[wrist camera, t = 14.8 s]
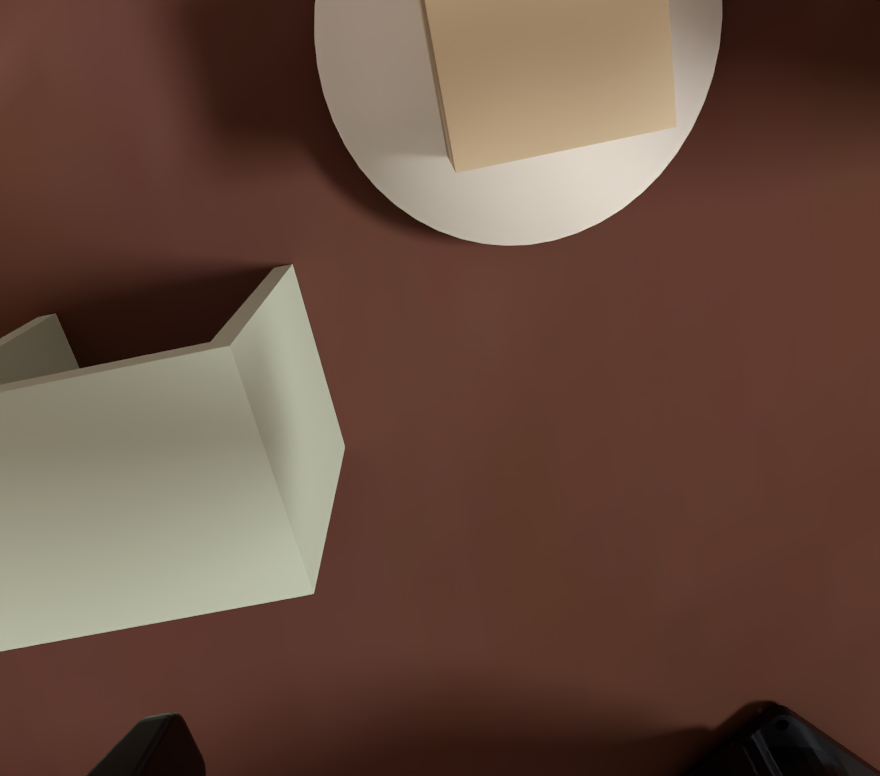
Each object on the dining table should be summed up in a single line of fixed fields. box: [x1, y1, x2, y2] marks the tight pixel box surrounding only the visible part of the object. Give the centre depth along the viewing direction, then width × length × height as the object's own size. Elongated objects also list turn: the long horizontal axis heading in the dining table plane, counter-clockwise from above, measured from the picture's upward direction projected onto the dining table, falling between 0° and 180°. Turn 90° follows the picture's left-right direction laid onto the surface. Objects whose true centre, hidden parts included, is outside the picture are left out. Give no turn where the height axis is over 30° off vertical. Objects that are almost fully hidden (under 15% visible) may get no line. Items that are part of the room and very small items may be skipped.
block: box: [419, 0, 677, 173], centre depth 14 cm, size 4×4×4 cm
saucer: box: [314, 0, 722, 246], centre depth 16 cm, size 9×9×1 cm
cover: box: [0, 264, 345, 651], centre depth 16 cm, size 6×7×6 cm
